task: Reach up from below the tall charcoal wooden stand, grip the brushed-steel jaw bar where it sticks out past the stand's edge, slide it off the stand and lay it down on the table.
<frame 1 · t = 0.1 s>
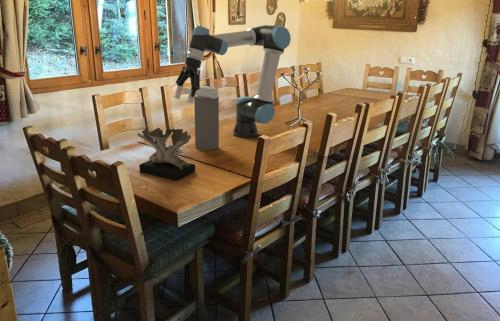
hand: (183, 100, 204), 28 cm above the table, tool tilted 20°, fingers open, 13 cm apart
coral: (165, 175, 185), on the table
jaw bar: (192, 94, 221), point 28 cm above the table, touching stand
stand: (207, 147, 224), on the table
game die: (173, 158, 206), on the table
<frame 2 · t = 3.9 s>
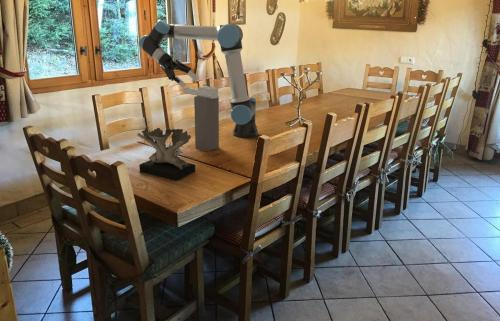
hand: (191, 82, 227), 33 cm above the table, tool tilted 55°, fingers open, 13 cm apart
jaw bar: (192, 94, 221), point 28 cm above the table, touching gripper
everything else where it was.
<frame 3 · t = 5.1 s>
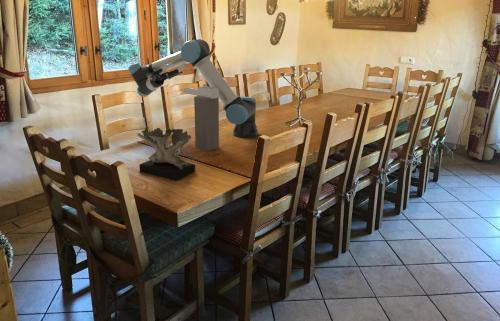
hand: (176, 66, 224), 42 cm above the table, tool pointing upward, fingers open, 13 cm apart
jaw bar: (192, 94, 221), point 28 cm above the table, touching stand
everything else where it was.
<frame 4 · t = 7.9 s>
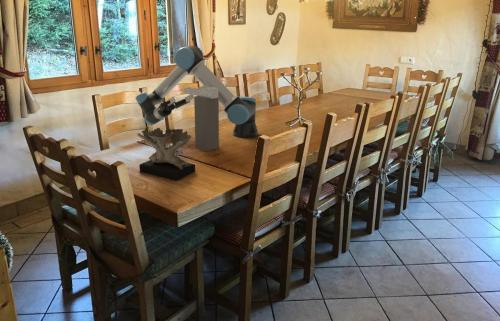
hand: (183, 97, 226), 25 cm above the table, tool pointing upward, fingers open, 13 cm apart
nothing on the table moved.
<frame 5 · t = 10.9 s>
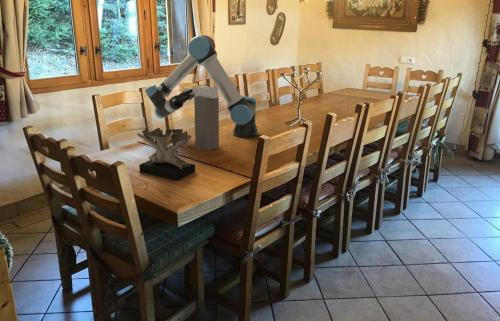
hand: (199, 87, 217), 32 cm above the table, tool pointing upward, fingers closed on jaw bar, 3 cm apart
jaw bar: (192, 94, 221), point 28 cm above the table, touching gripper, stand
everything else where it was.
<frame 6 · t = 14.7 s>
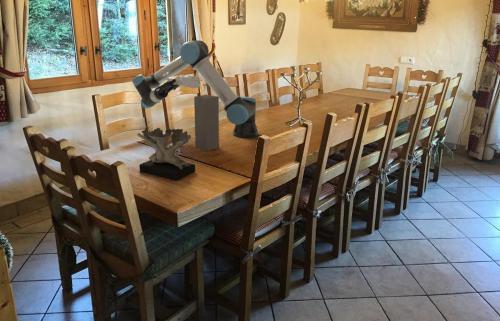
hand: (182, 77, 223), 36 cm above the table, tool pointing upward, fingers closed on jaw bar, 3 cm apart
jaw bar: (176, 84, 228), point 32 cm above the table, touching gripper
everything else where it was.
when the fingers open (13 cm above the table, at t = 18.7 s): jaw bar drops 12 cm, on the table.
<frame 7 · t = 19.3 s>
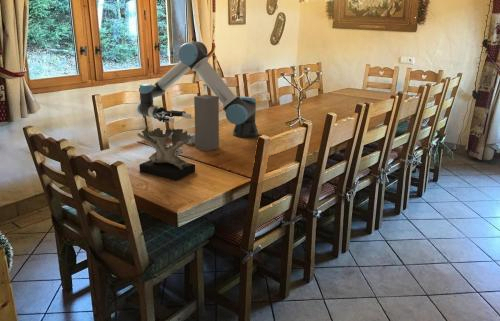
hand: (182, 118, 231), 13 cm above the table, tool horizontal, fingers open, 12 cm apart
jaw bar: (173, 138, 240), on the table
everything else where it was.
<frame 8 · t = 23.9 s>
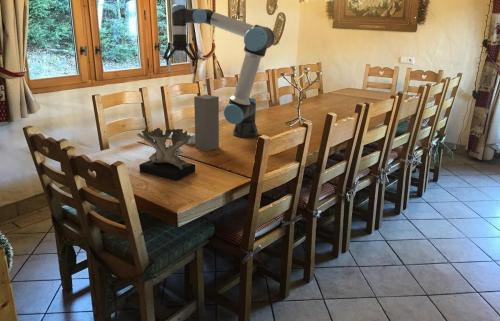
hand: (181, 71, 239), 37 cm above the table, tool pointing down, fingers open, 13 cm apart
nothing on the table moved.
at the end: jaw bar inside the target area (4.2 cm from its centre), on the table; the gripper is holding nothing; jaw bar moved 32.6 cm from its start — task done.
